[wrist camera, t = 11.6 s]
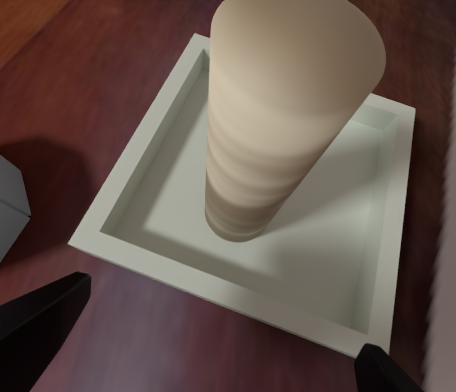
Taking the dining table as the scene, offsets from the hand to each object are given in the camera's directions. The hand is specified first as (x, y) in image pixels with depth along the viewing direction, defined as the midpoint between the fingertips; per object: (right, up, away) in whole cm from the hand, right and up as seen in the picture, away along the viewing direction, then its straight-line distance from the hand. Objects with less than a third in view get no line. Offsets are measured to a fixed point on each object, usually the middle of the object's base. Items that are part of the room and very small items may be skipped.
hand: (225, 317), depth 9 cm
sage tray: (+3, +5, +12) cm, 13 cm away
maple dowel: (+1, +3, +10) cm, 10 cm away
